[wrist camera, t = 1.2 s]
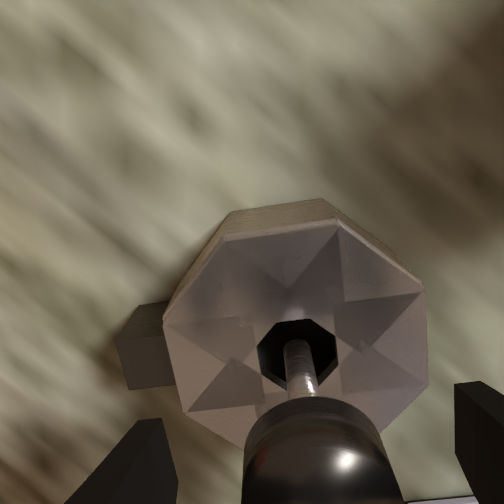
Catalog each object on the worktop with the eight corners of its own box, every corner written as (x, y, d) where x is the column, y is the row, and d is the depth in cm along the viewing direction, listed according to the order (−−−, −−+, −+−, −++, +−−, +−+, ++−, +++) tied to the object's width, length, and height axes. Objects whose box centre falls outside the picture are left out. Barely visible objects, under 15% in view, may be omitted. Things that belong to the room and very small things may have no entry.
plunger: (348, 385, 15) (408, 568, 9) (256, 396, 15) (253, 582, 9) (340, 301, 14) (400, 442, 8) (242, 314, 14) (228, 460, 8)
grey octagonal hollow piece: (399, 381, 19) (433, 447, 15) (166, 408, 19) (144, 477, 16) (388, 188, 16) (426, 209, 12) (121, 227, 17) (81, 258, 13)
